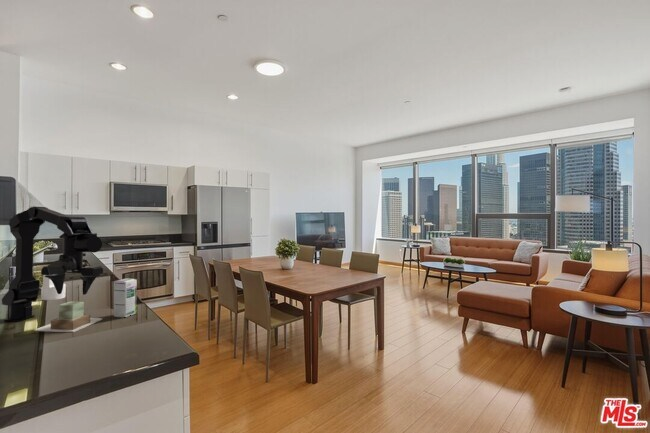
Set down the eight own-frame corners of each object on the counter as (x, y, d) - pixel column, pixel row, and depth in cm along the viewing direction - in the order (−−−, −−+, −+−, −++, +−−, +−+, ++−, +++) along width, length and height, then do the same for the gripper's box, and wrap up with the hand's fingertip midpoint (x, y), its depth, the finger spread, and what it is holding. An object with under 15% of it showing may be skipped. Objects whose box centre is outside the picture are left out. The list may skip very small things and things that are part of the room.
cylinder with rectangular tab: (54, 300, 150) (55, 274, 150) (35, 299, 150) (36, 274, 150) (70, 295, 159) (70, 271, 159) (52, 295, 159) (53, 271, 159)
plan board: (33, 331, 111) (34, 320, 111) (67, 318, 125) (67, 309, 125) (73, 332, 111) (73, 322, 111) (102, 319, 125) (102, 310, 125)
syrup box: (125, 317, 127) (126, 281, 127) (112, 316, 129) (113, 280, 129) (136, 313, 133) (137, 278, 133) (124, 312, 134) (125, 278, 134)
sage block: (58, 319, 114) (59, 305, 114) (70, 314, 119) (70, 301, 119) (72, 319, 113) (72, 305, 113) (83, 315, 118) (83, 301, 118)
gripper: (26, 253, 108) (25, 299, 108) (81, 254, 108) (80, 300, 108) (55, 249, 119) (54, 291, 119) (104, 250, 119) (103, 292, 119)
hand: (72, 294), depth 116 cm, fingers open, 9 cm apart
